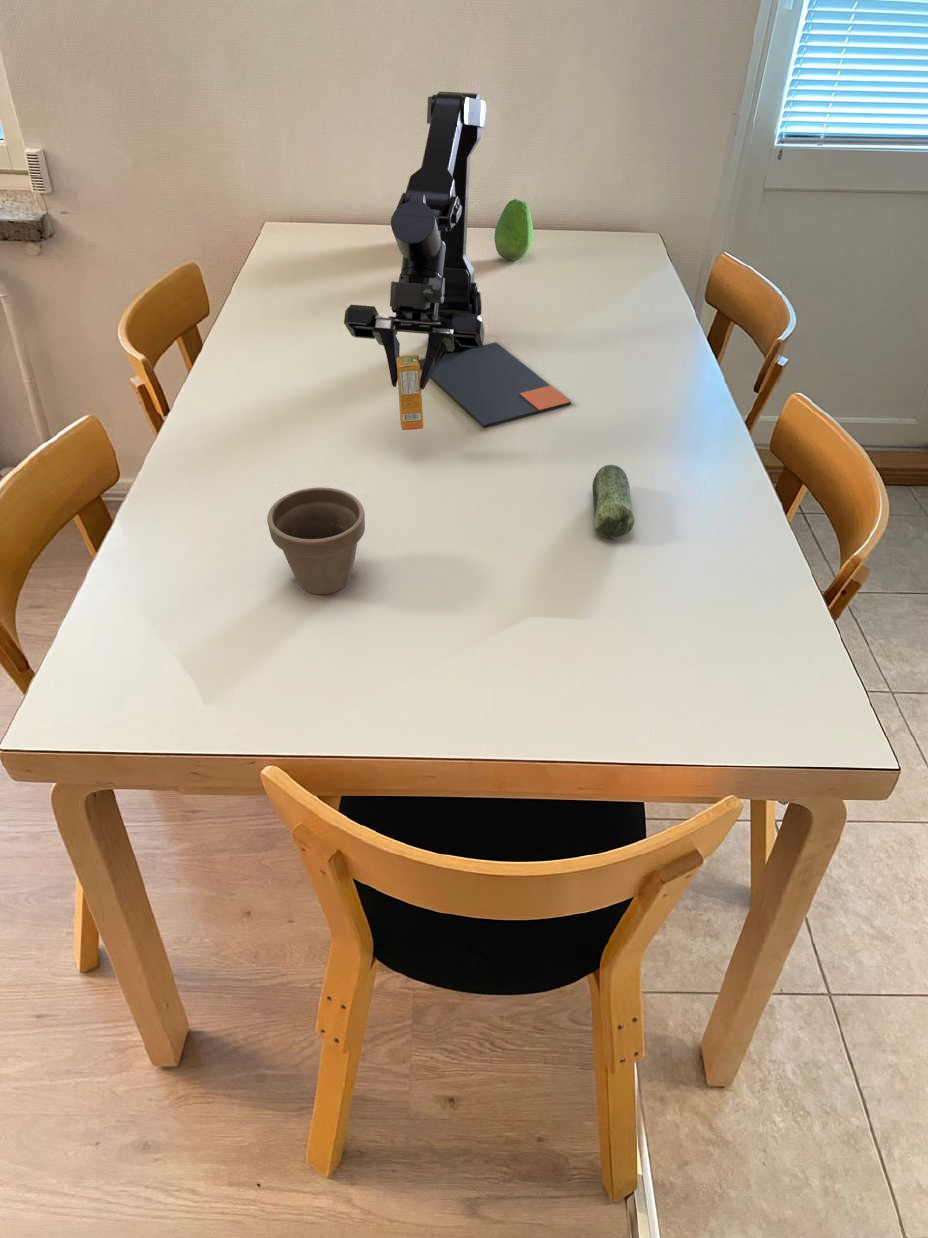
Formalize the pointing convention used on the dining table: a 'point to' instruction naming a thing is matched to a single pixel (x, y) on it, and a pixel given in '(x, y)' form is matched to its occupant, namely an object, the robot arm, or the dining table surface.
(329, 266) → the dining table surface
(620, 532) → the vegetable
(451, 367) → the mat
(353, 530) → the flower pot
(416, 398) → the supplement box
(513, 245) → the avocado
